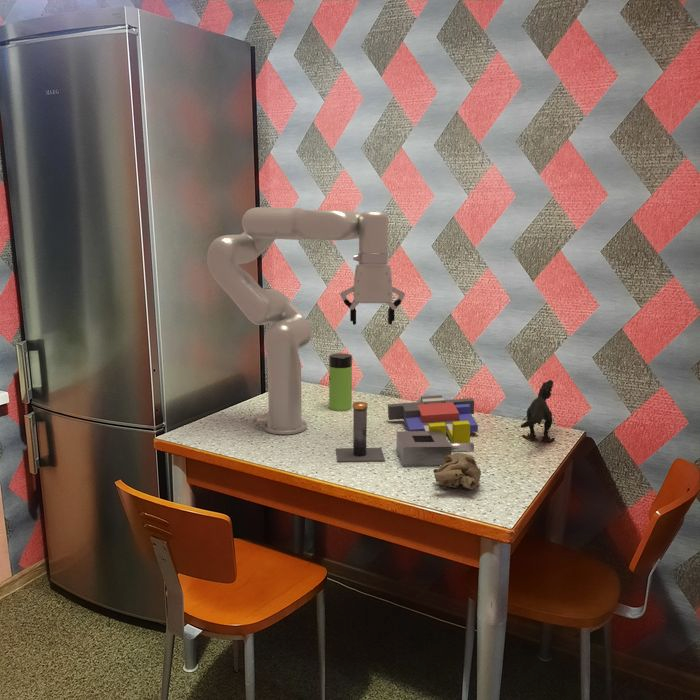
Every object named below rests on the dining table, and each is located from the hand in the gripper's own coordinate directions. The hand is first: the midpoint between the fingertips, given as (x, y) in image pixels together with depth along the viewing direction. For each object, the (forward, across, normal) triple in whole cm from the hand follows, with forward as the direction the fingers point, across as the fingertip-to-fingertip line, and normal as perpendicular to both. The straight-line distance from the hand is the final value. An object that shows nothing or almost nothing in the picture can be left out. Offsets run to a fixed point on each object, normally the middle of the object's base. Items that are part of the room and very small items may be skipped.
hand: (372, 323), depth 172 cm
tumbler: (+32, -7, +30) cm, 45 cm away
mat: (+32, -4, -13) cm, 35 cm away
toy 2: (+32, +45, -5) cm, 56 cm away
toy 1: (+33, +20, +7) cm, 39 cm away
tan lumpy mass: (+33, +17, -33) cm, 49 cm away
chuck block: (+32, +15, -15) cm, 39 cm away
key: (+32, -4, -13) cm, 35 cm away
